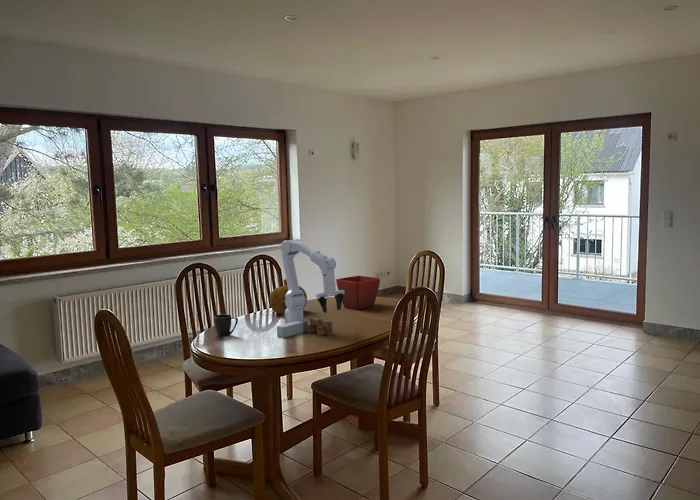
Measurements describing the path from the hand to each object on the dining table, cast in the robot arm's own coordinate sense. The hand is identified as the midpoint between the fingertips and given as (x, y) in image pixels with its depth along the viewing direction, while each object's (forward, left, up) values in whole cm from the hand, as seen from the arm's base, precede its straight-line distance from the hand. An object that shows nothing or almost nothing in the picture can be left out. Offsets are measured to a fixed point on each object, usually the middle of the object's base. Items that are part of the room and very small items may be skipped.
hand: (332, 311), depth 261 cm
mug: (-37, -35, -11) cm, 52 cm away
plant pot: (-30, +52, -11) cm, 61 cm away
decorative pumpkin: (-51, +16, -11) cm, 54 cm away
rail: (-14, -13, -11) cm, 22 cm away
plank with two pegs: (-5, -4, -11) cm, 12 cm away
